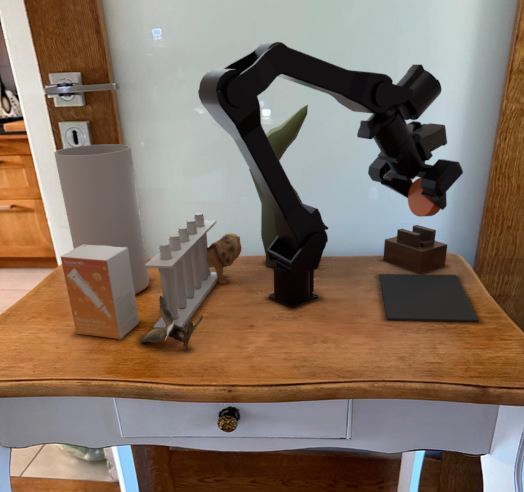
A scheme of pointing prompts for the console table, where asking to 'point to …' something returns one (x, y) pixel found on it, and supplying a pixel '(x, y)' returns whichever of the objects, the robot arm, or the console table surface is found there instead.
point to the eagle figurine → (171, 328)
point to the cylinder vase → (103, 201)
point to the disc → (420, 201)
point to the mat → (425, 298)
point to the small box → (101, 290)
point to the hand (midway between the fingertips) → (430, 204)
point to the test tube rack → (184, 270)
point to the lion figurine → (223, 254)
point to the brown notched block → (415, 250)
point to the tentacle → (280, 142)
